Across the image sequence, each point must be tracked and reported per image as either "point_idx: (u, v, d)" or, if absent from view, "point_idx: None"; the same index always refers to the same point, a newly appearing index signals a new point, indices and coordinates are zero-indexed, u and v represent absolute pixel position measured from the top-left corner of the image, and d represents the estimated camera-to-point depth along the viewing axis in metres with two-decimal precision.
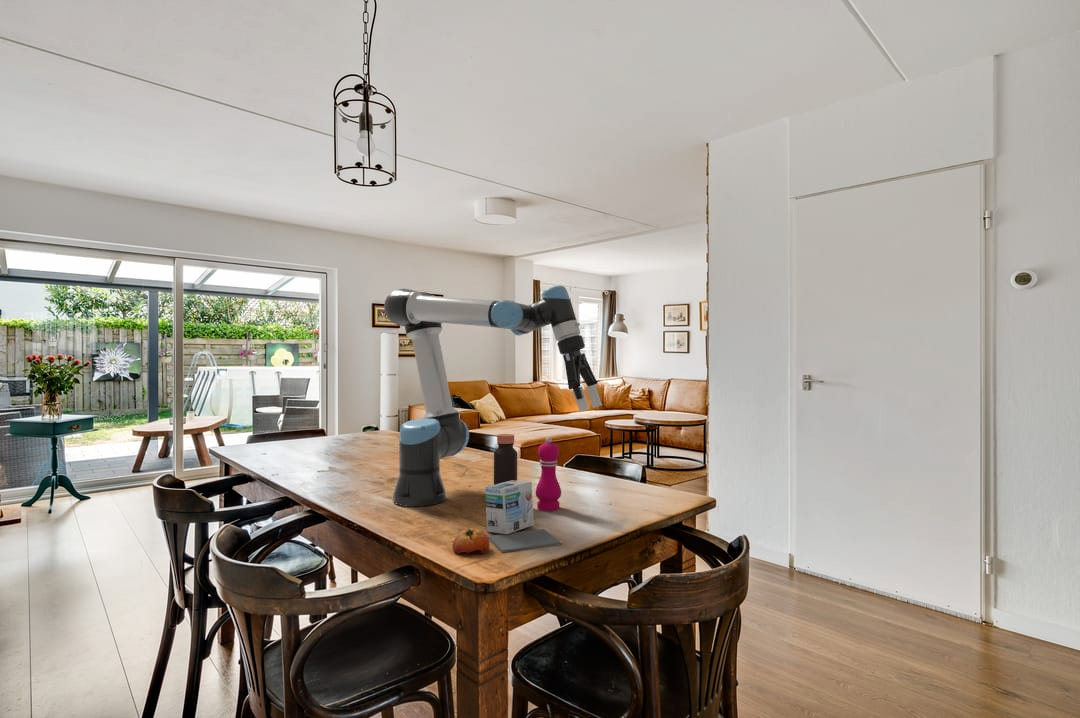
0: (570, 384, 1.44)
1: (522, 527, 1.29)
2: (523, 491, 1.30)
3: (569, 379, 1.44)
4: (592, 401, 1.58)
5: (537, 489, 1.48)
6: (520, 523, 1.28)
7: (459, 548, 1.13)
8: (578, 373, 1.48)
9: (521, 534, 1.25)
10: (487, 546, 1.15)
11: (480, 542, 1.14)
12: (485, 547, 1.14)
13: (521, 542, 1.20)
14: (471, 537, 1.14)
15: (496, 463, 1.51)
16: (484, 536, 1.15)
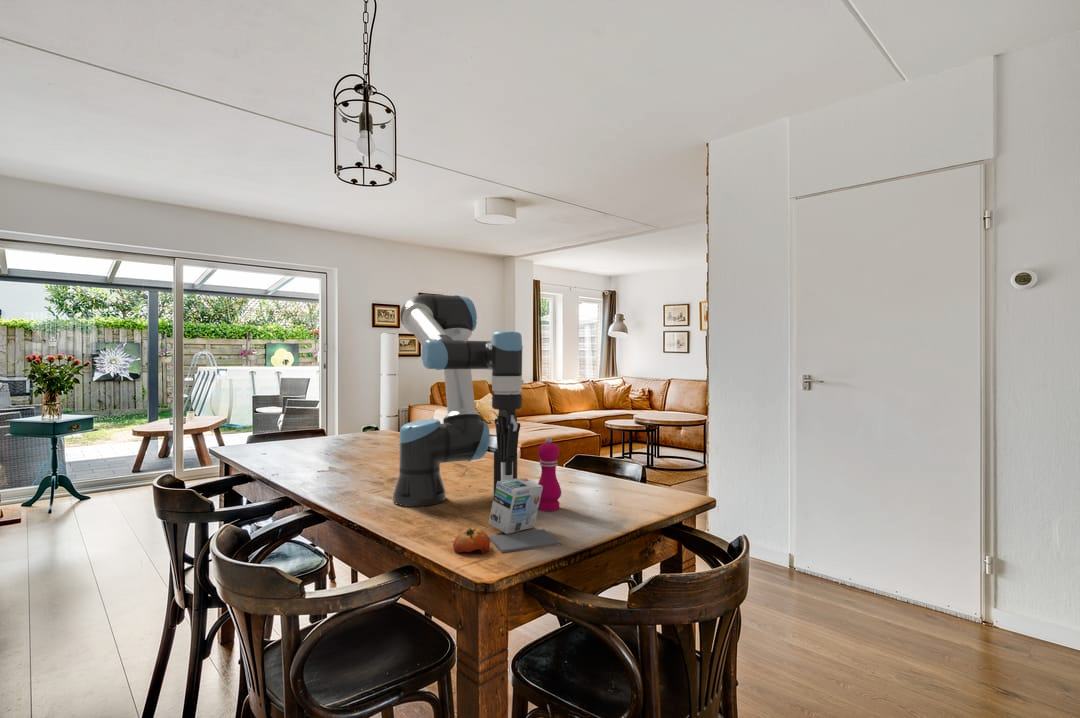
0: (509, 458, 1.30)
1: (523, 528, 1.29)
2: (533, 494, 1.29)
3: (510, 454, 1.30)
4: (503, 479, 1.33)
5: None
6: (521, 525, 1.28)
7: (459, 547, 1.14)
8: None
9: (521, 534, 1.25)
10: (488, 546, 1.15)
11: (481, 542, 1.14)
12: (486, 547, 1.14)
13: (521, 542, 1.20)
14: (472, 536, 1.15)
15: (496, 463, 1.51)
16: (485, 536, 1.16)
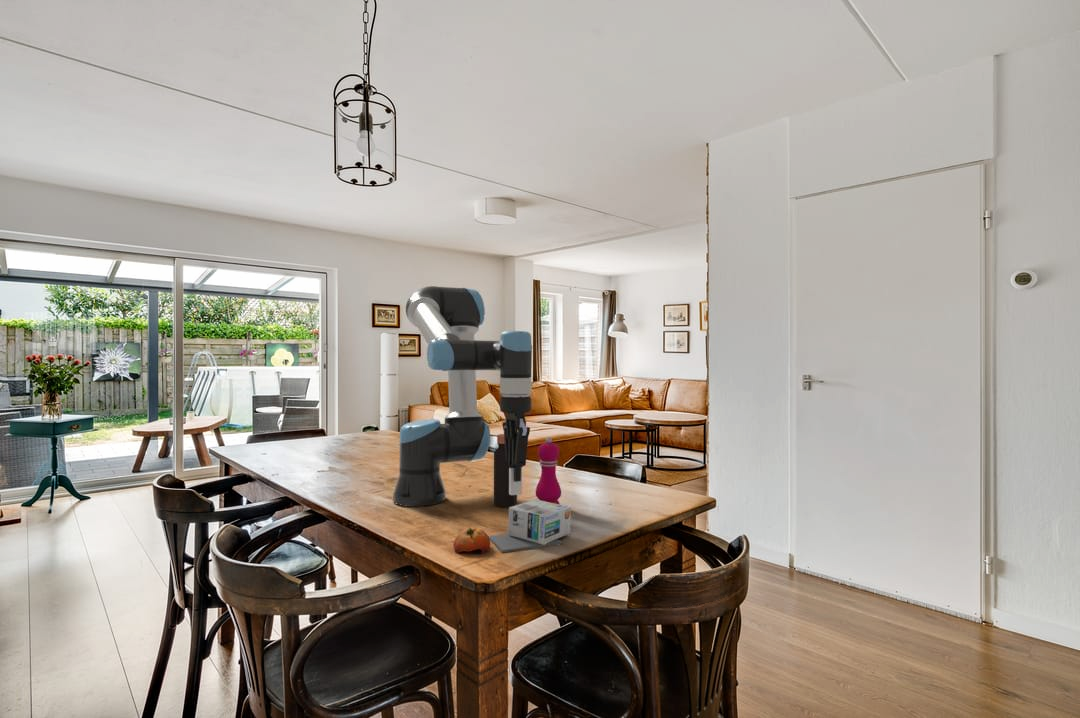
0: (518, 464, 1.24)
1: None
2: None
3: (518, 460, 1.24)
4: None
5: (537, 489, 1.48)
6: None
7: (459, 547, 1.14)
8: None
9: None
10: (488, 546, 1.15)
11: (481, 542, 1.14)
12: (486, 547, 1.15)
13: (521, 542, 1.20)
14: (472, 536, 1.15)
15: (496, 463, 1.51)
16: (485, 535, 1.16)
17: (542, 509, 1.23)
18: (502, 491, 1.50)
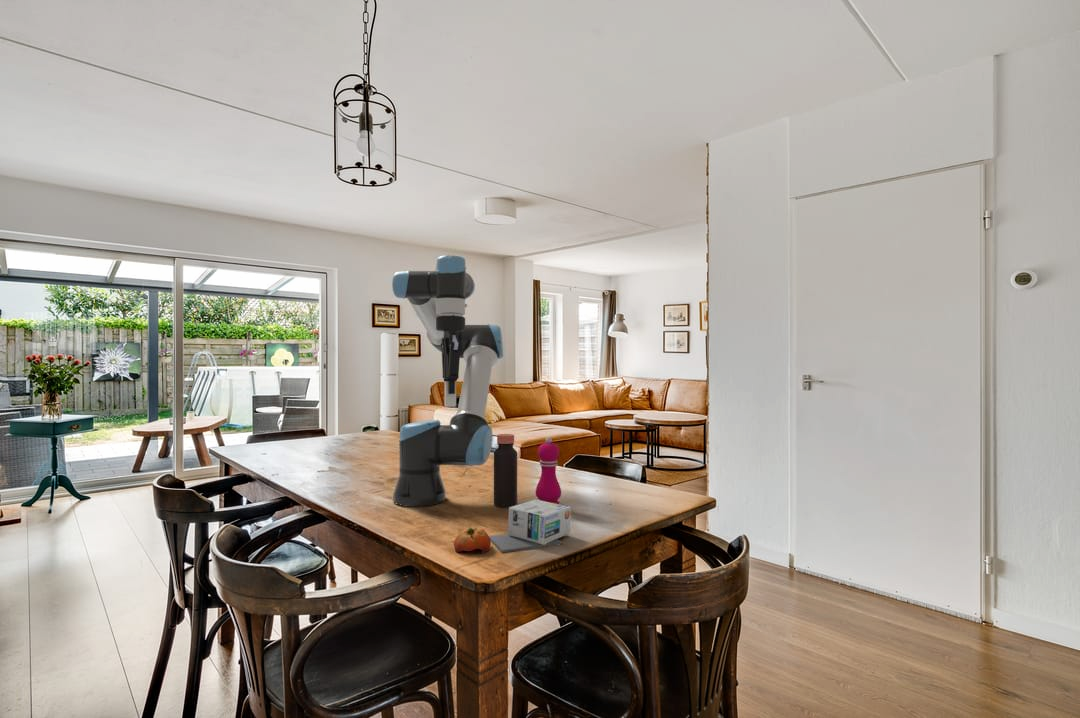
0: (451, 377, 1.35)
1: None
2: None
3: (451, 372, 1.35)
4: None
5: (537, 489, 1.48)
6: None
7: (460, 546, 1.14)
8: None
9: None
10: (488, 545, 1.15)
11: (481, 541, 1.14)
12: (486, 546, 1.15)
13: (521, 542, 1.20)
14: (472, 536, 1.15)
15: (496, 463, 1.51)
16: (485, 535, 1.16)
17: (542, 509, 1.23)
18: (502, 491, 1.50)
